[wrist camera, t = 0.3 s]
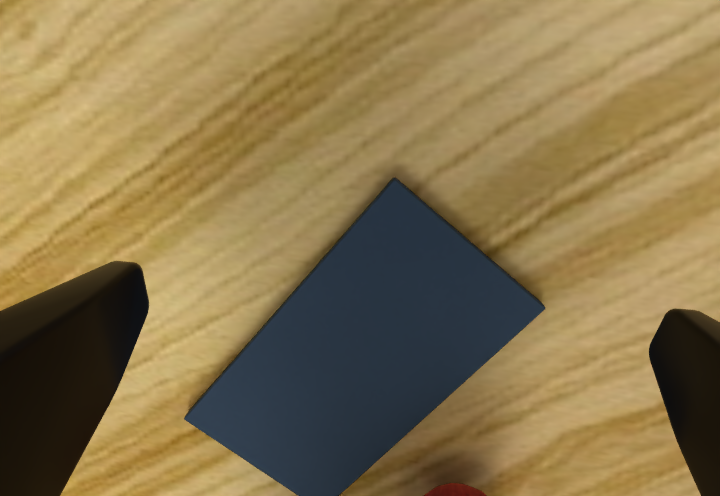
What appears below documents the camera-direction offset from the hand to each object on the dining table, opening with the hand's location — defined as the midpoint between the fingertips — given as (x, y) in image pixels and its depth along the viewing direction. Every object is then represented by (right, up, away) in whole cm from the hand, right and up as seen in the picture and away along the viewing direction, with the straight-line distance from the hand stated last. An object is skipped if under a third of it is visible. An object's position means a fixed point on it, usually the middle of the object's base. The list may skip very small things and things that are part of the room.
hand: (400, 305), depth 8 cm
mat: (-1, -5, +18) cm, 19 cm away
